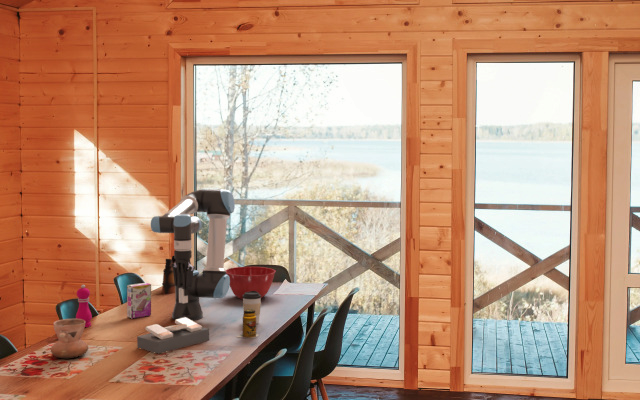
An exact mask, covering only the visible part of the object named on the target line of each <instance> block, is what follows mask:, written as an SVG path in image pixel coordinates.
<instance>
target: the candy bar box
mask: <svg viewBox="0 0 640 400" xmlns="http://www.w3.org/2000/svg"><path fill="white" fill-rule="evenodd" d="M126 293H127V294H126V300H127V302H126V306H127V307H126V311H127V313H126V316H127V318H128V317H129V318H128V319H130V318H131V320H134V319H138V318H139V317H140V318H145V316H146V317H150V315H151V316H152V284H151V283H148V282H142V283H134V284H128V285H126ZM133 318H134V319H133ZM140 318H139V319H140Z"/></svg>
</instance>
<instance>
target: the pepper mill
mask: <svg viewBox="0 0 640 400" xmlns="http://www.w3.org/2000/svg"><path fill="white" fill-rule="evenodd" d="M80 287H81V288H78V289H77V291H76V296H77V298H78V299H77V302H78V308H77V312H76V314H75V319H82V320H84V321H85V327H87V328H90V327H91V326H92V322H91V320H92V318H93V316H92V312H91V309H90V307H89V302H90V296H91V291H90V289H89V288H86V285H85V284H82V285H81V286H80ZM89 326H90V327H89ZM85 327H84V329H86V328H85Z"/></svg>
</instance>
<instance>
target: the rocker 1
mask: <svg viewBox="0 0 640 400" xmlns="http://www.w3.org/2000/svg"><path fill="white" fill-rule="evenodd" d="M144 330H145V331H147V332H149V334H150V333H152V336H157V337H158V338H160V339H161V340H162V339H166V338H170V337H173V333H171V332H170V331H168V330H166V329H165V328H164V327H163V326H161V325H160V324H158V323H155V324H151V325H147V326H145V329H144Z"/></svg>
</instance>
